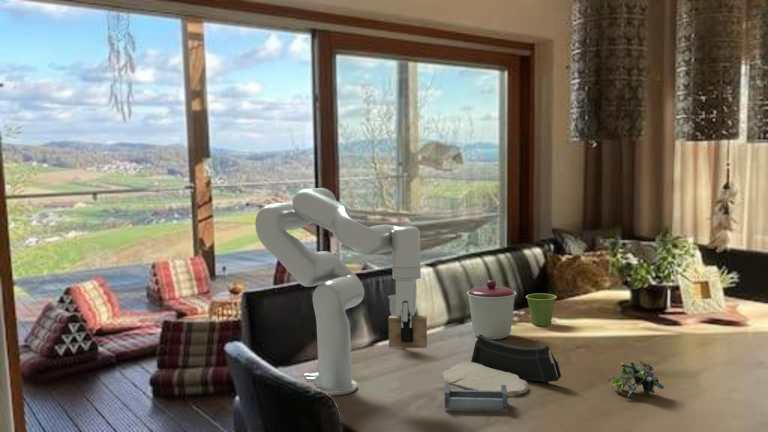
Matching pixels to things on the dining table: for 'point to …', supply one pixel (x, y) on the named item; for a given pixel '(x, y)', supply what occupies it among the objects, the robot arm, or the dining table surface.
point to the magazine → (517, 360)
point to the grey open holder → (476, 400)
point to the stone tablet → (484, 378)
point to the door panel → (418, 332)
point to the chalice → (393, 306)
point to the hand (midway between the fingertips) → (407, 339)
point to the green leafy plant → (636, 378)
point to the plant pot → (541, 308)
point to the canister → (491, 310)
